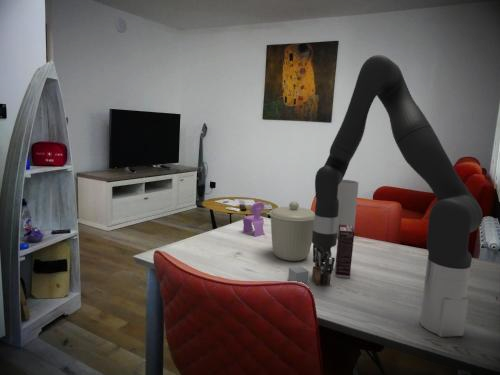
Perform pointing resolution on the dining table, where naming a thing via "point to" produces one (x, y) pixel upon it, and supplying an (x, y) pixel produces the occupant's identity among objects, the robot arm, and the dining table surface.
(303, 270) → the slate cube
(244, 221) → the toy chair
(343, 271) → the supplement box
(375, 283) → the dining table surface
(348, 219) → the cylinder vase
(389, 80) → the robot arm
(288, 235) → the canister
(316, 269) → the walnut cube
